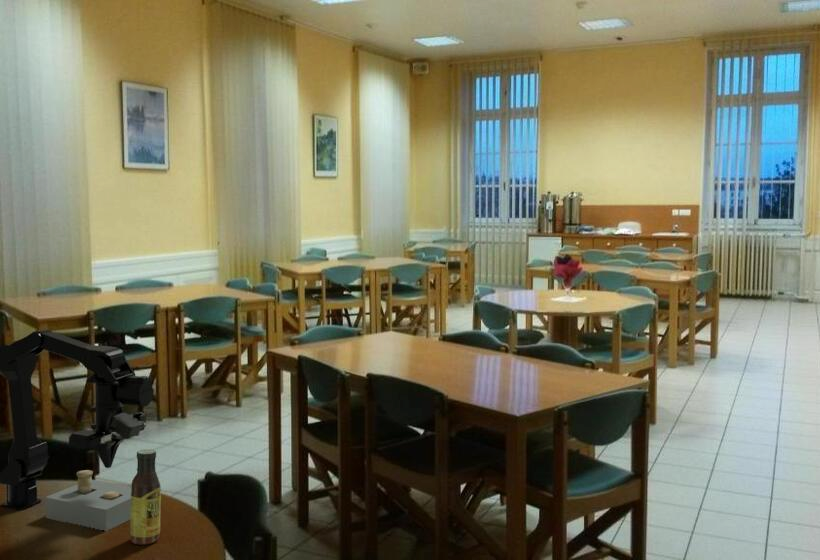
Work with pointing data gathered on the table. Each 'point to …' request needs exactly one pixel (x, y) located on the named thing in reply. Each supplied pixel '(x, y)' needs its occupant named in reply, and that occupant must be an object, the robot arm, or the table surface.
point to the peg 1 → (84, 482)
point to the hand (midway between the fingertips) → (108, 467)
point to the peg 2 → (111, 495)
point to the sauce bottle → (145, 500)
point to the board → (91, 506)
